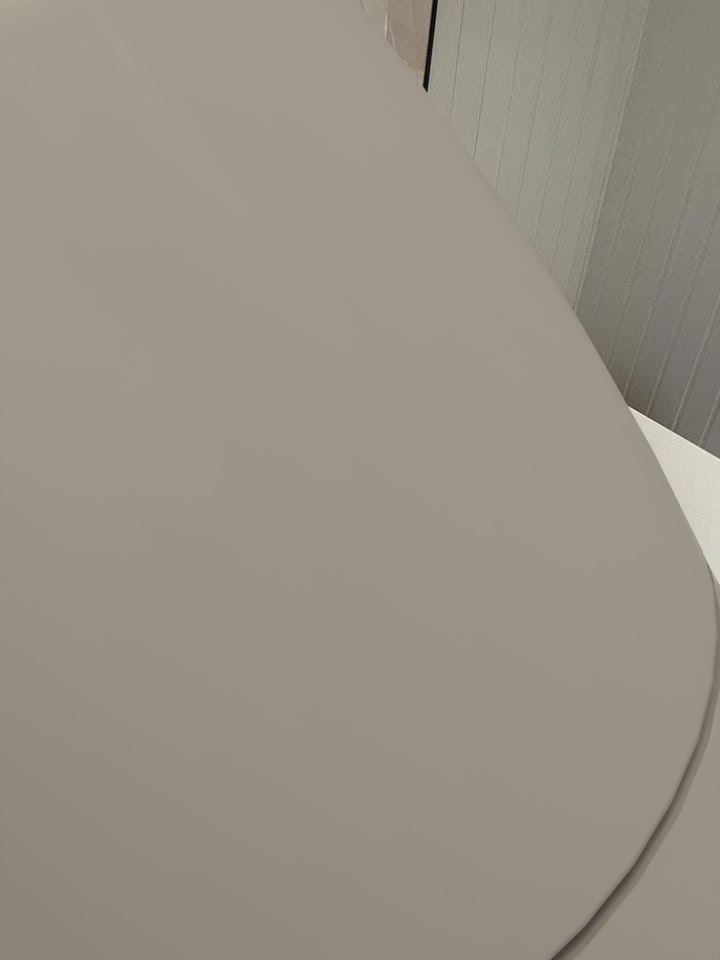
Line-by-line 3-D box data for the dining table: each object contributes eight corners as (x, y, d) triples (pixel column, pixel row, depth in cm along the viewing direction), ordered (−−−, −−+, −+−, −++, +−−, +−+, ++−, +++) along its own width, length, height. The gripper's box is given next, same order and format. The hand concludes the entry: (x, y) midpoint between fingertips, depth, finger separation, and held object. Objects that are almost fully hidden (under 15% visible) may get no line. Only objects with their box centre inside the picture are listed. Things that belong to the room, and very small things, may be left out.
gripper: (791, 851, 37) (590, 654, 46) (455, 1116, 28) (290, 805, 37) (744, 909, 41) (567, 716, 50) (435, 1159, 32) (289, 867, 41)
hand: (446, 756), depth 43 cm, fingers open, 8 cm apart
